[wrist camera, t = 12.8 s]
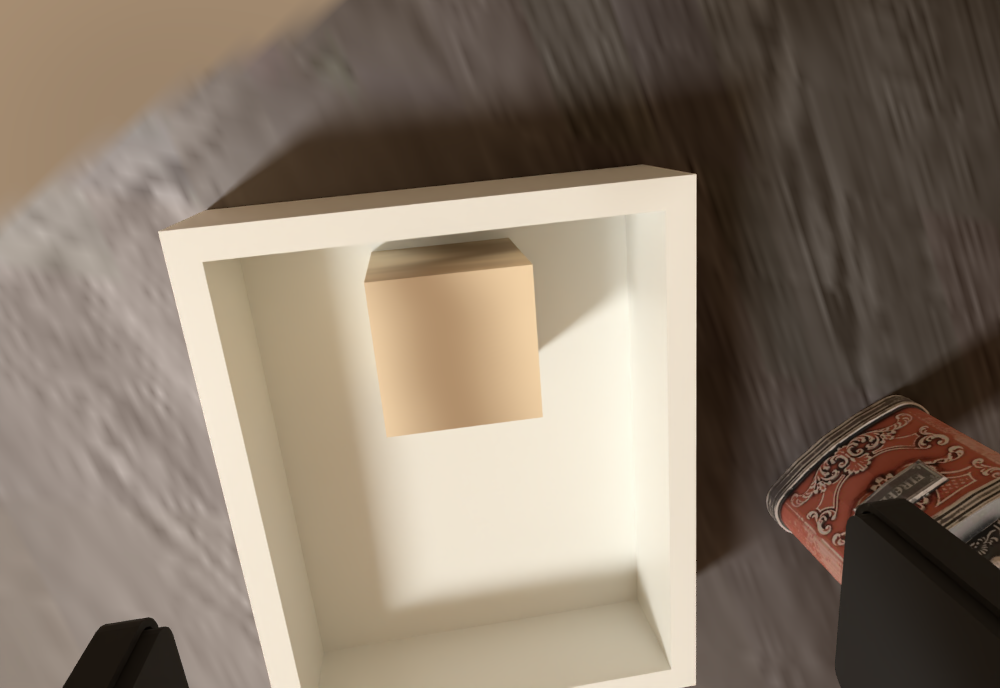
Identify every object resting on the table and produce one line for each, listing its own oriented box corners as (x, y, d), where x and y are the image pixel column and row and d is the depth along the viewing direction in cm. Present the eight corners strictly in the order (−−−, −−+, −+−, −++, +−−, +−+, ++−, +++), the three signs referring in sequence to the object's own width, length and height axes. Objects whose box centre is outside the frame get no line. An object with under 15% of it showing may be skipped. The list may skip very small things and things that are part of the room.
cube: (508, 237, 25) (532, 264, 21) (518, 365, 27) (542, 417, 22) (371, 252, 25) (363, 282, 20) (389, 381, 26) (386, 437, 22)
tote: (643, 164, 26) (696, 174, 21) (653, 602, 32) (695, 684, 28) (205, 210, 24) (158, 231, 20) (306, 660, 31) (289, 758, 26)
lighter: (897, 378, 30) (1119, 495, 21) (931, 429, 31) (1158, 562, 22) (751, 492, 31) (902, 654, 22) (790, 538, 32) (949, 711, 23)
